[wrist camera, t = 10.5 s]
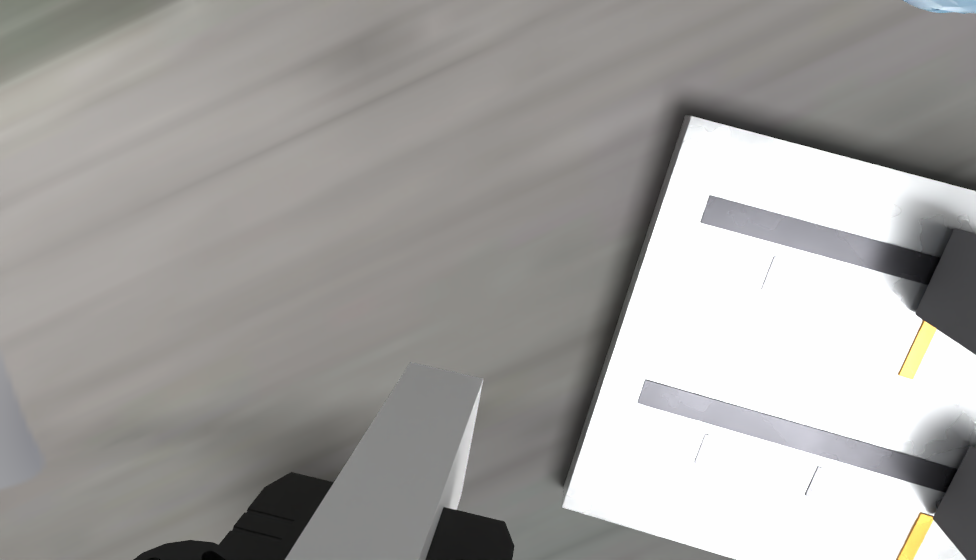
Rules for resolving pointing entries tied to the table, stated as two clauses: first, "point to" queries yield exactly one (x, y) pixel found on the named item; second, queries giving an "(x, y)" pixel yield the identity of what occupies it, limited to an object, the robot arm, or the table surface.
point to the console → (782, 360)
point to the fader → (954, 291)
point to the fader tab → (961, 507)
